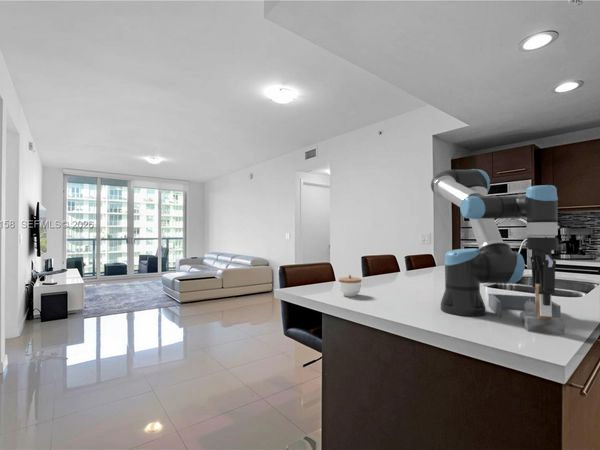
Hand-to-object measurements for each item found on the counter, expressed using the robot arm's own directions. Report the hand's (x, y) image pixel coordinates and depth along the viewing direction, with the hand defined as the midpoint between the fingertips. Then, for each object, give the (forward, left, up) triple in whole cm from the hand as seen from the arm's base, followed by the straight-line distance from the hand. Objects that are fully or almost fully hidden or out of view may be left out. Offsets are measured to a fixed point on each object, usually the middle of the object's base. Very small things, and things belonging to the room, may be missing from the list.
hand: (543, 314), depth 96 cm
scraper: (0, 0, -5) cm, 5 cm away
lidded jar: (-66, +33, -5) cm, 74 cm away
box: (0, +22, -5) cm, 23 cm away
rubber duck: (-1, +9, -5) cm, 11 cm away
